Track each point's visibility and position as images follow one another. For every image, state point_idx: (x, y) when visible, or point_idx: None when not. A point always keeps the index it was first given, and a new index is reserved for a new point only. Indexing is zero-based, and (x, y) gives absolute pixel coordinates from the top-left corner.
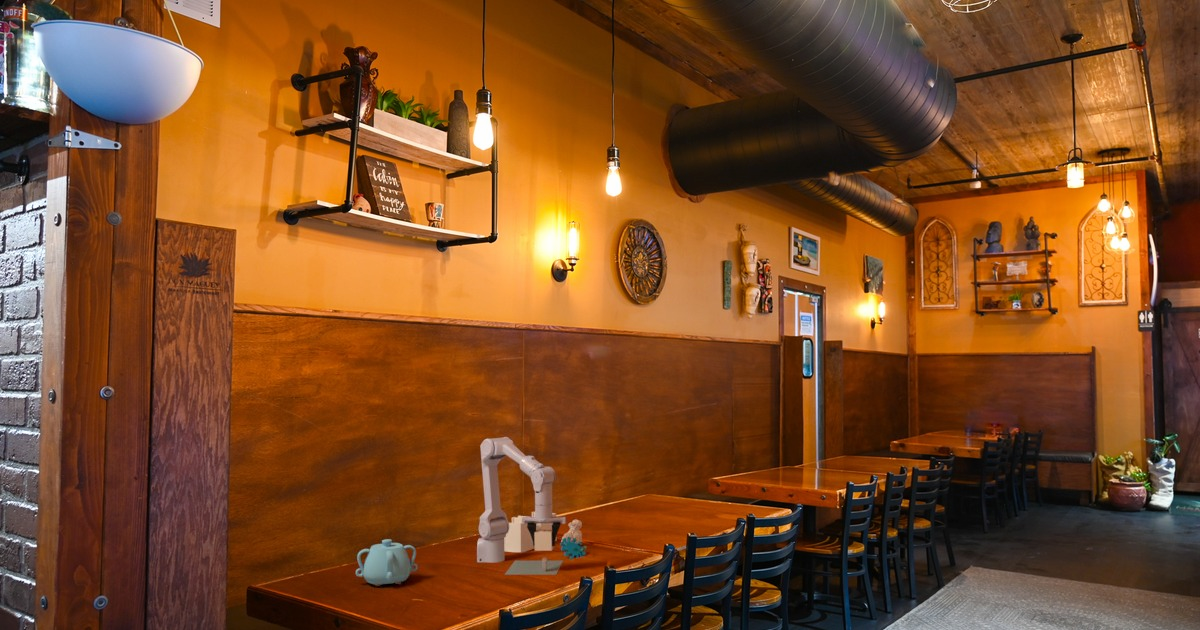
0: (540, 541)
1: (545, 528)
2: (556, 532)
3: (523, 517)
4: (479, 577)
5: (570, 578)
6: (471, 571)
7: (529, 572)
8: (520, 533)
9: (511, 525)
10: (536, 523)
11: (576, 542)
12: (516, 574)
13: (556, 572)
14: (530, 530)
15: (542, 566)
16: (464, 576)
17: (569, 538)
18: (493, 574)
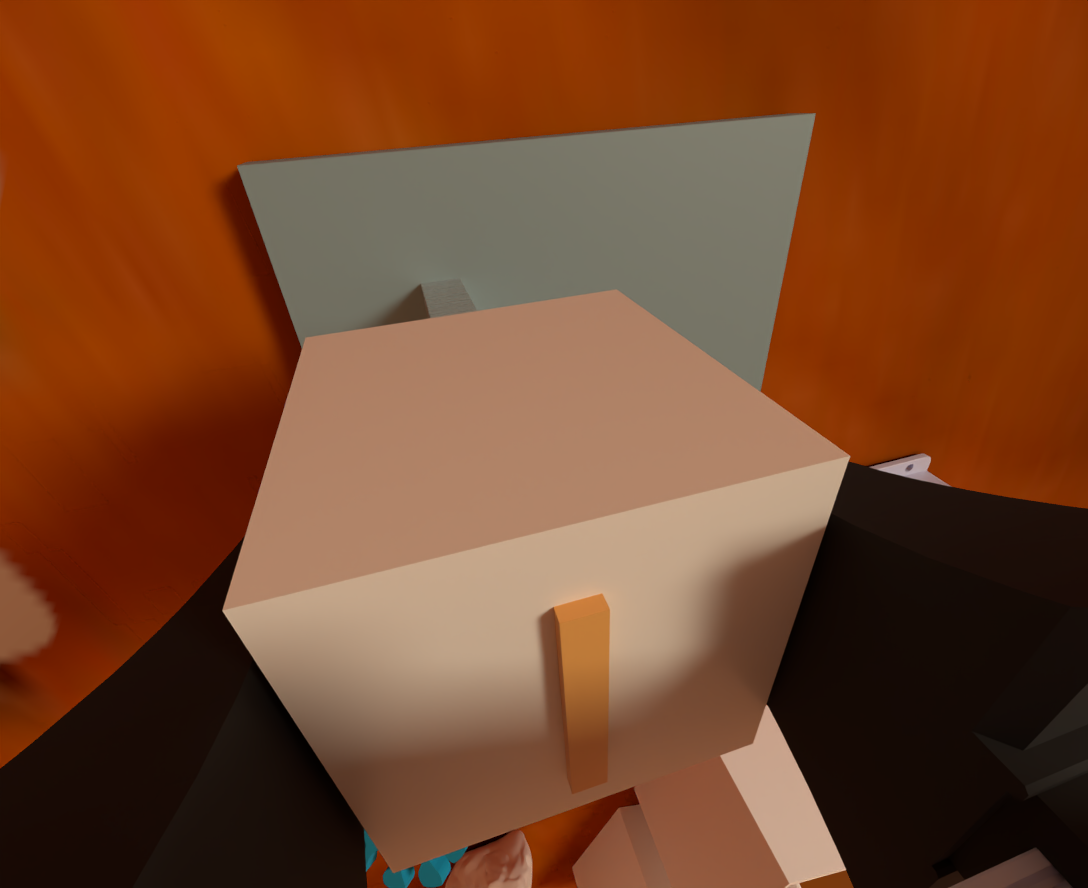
0: (565, 373)
1: None
2: (60, 721)
3: None
4: (976, 134)
5: (42, 166)
6: (979, 325)
7: (583, 233)
8: (753, 815)
9: (824, 853)
10: (968, 880)
11: (458, 880)
12: (703, 123)
13: (282, 268)
14: (997, 514)
15: (463, 295)
16: (1063, 162)
17: (427, 872)
18: (861, 257)
